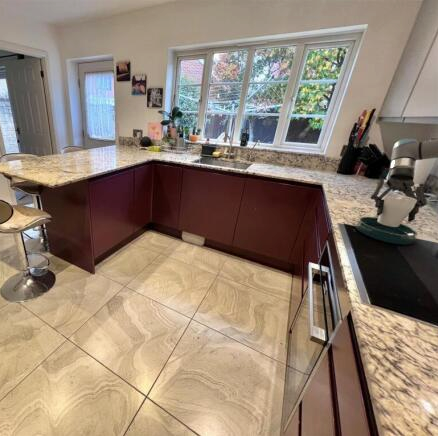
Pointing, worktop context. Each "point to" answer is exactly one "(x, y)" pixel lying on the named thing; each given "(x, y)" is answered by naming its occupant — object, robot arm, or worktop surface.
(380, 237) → the bowl
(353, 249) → the worktop surface
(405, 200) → the cup
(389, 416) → the worktop surface
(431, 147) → the robot arm
